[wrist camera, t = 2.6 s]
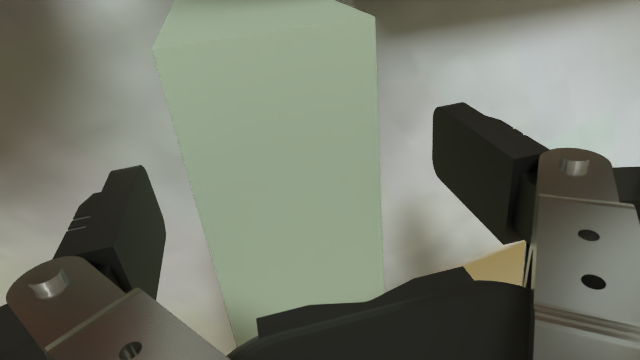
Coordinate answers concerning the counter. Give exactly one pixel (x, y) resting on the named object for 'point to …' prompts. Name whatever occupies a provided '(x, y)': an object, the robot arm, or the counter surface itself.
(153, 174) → the counter surface
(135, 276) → the robot arm
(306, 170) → the key block
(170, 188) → the counter surface
